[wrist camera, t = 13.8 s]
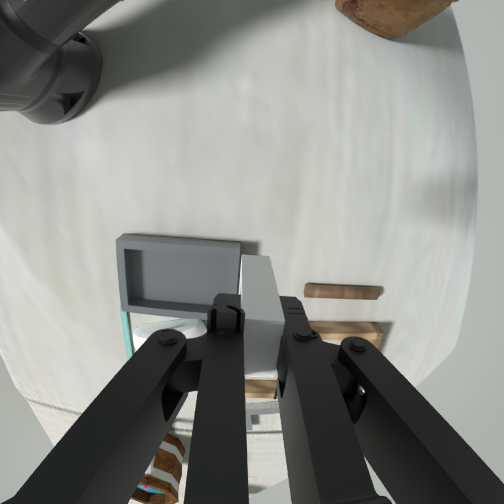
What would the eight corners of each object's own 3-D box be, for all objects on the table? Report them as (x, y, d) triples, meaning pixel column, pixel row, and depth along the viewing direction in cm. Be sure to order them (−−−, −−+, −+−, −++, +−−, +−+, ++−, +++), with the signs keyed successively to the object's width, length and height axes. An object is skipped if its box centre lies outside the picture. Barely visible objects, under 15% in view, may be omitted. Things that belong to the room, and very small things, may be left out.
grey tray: (127, 302, 47) (121, 311, 44) (123, 233, 43) (115, 239, 40) (234, 311, 48) (234, 322, 45) (240, 241, 44) (240, 248, 41)
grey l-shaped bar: (243, 424, 57) (243, 430, 56) (240, 403, 55) (240, 410, 53) (319, 416, 57) (321, 422, 56) (322, 395, 55) (323, 401, 53)
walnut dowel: (303, 294, 47) (305, 299, 46) (305, 282, 47) (307, 287, 45) (372, 296, 48) (377, 301, 46) (375, 285, 48) (380, 290, 46)
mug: (182, 462, 63) (176, 511, 49) (130, 450, 61) (118, 497, 47) (190, 419, 56) (183, 478, 42) (128, 404, 55) (109, 459, 41)
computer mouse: (214, 345, 50) (211, 369, 44) (144, 354, 51) (135, 377, 45) (204, 313, 48) (199, 335, 42) (131, 324, 48) (119, 346, 43)
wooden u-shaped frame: (231, 383, 53) (231, 396, 50) (236, 318, 48) (236, 330, 45) (355, 383, 54) (360, 395, 51) (376, 322, 50) (383, 333, 46)
